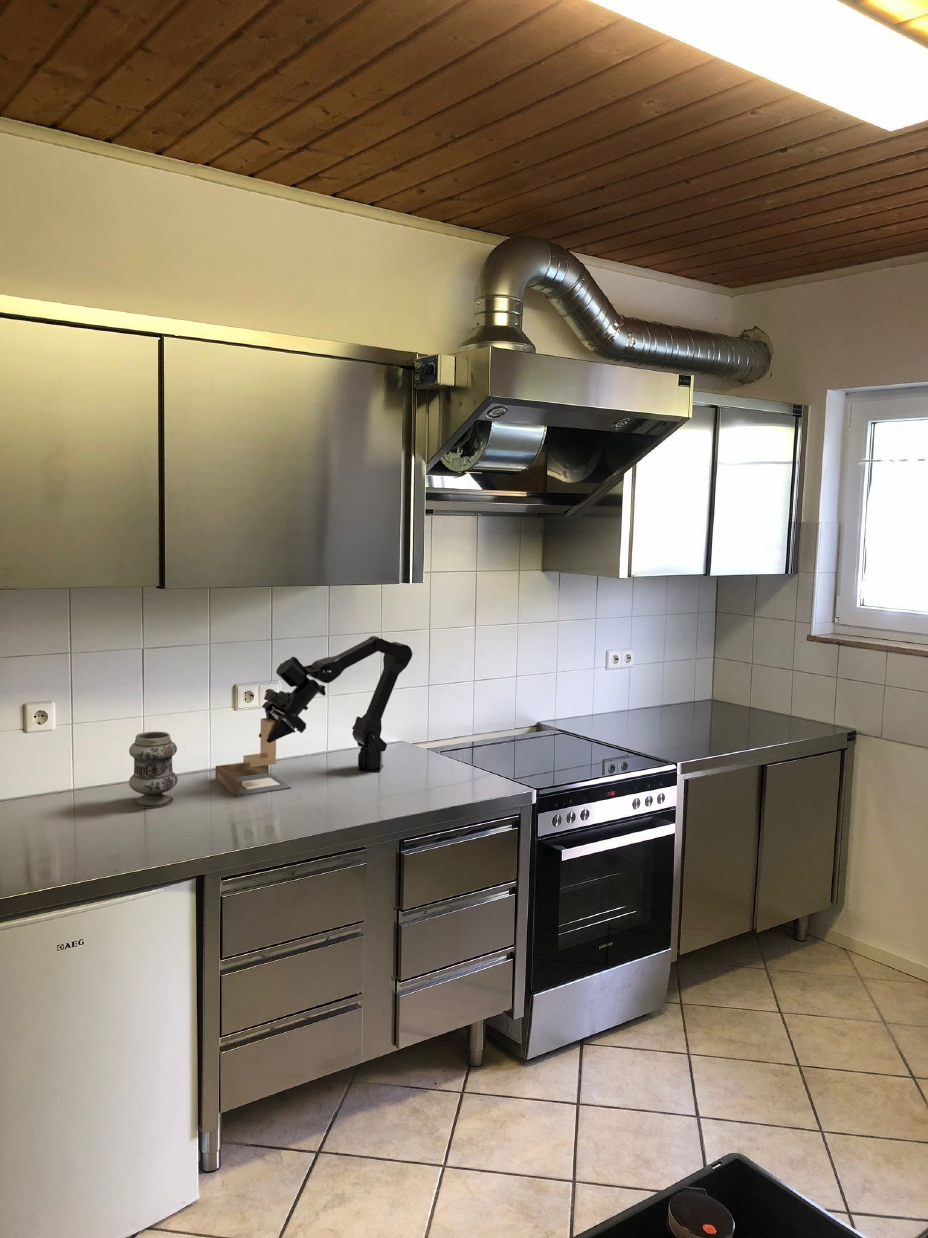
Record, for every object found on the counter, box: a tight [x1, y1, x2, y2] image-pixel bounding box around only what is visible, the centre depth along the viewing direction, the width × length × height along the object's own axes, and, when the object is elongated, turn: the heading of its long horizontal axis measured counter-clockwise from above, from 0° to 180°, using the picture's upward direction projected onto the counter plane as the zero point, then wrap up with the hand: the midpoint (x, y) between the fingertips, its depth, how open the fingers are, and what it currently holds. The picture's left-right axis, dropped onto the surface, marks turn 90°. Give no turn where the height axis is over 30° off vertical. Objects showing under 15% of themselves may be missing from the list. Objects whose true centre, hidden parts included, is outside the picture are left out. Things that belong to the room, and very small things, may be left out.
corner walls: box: [215, 762, 270, 797], centre depth 268 cm, size 15×17×4 cm
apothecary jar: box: [128, 731, 178, 809], centre depth 249 cm, size 12×12×18 cm
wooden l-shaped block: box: [242, 717, 277, 767], centre depth 266 cm, size 8×5×12 cm, turn 124°
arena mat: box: [237, 772, 292, 797], centre depth 268 cm, size 14×16×1 cm
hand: (263, 739), depth 267 cm, fingers closed on wooden l-shaped block, 5 cm apart
